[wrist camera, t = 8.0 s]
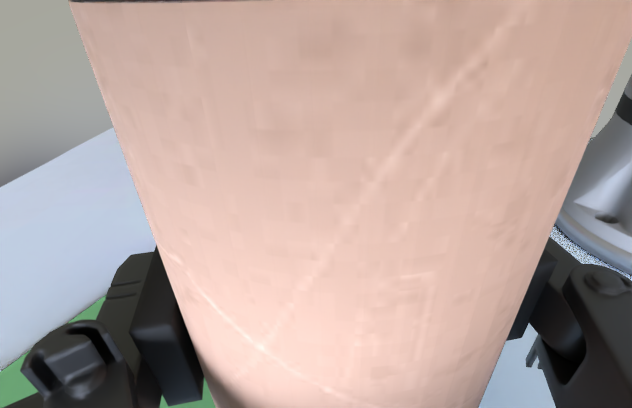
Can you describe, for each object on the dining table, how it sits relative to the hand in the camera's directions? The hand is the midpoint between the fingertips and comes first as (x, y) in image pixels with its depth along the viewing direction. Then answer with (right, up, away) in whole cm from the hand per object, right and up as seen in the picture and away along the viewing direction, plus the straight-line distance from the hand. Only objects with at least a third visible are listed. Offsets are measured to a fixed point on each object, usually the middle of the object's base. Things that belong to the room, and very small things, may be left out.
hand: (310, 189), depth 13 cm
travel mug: (+1, -12, +2) cm, 12 cm away
